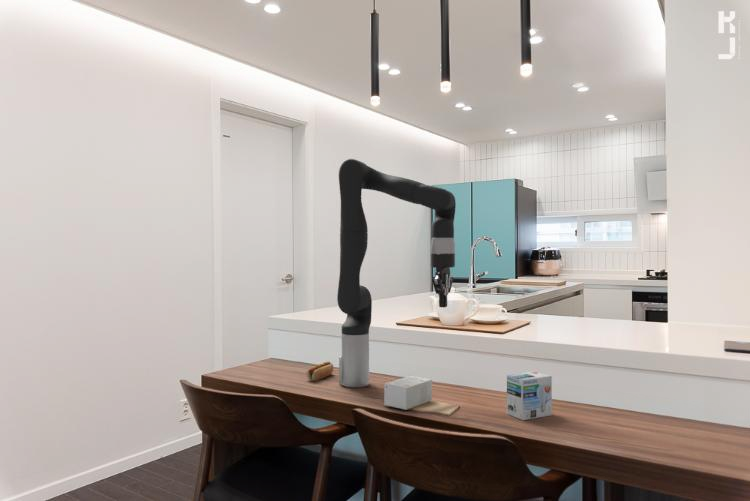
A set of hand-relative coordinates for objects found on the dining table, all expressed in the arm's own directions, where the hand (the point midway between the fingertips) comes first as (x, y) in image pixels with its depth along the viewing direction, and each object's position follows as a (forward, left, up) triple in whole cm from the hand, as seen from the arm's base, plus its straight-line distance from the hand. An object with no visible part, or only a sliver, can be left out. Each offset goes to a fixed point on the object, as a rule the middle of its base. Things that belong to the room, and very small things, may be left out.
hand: (443, 307), depth 168 cm
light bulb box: (+29, -11, -27) cm, 41 cm away
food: (-46, -1, -27) cm, 54 cm away
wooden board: (0, -18, -27) cm, 32 cm away
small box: (-3, -11, -24) cm, 26 cm away
